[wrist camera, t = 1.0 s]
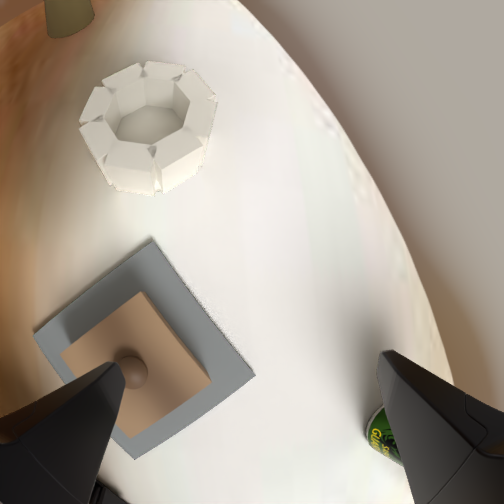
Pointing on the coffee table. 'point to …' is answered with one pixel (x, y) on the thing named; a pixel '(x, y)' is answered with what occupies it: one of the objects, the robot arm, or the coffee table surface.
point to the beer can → (382, 436)
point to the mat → (178, 317)
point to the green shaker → (67, 16)
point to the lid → (140, 362)
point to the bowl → (149, 126)
